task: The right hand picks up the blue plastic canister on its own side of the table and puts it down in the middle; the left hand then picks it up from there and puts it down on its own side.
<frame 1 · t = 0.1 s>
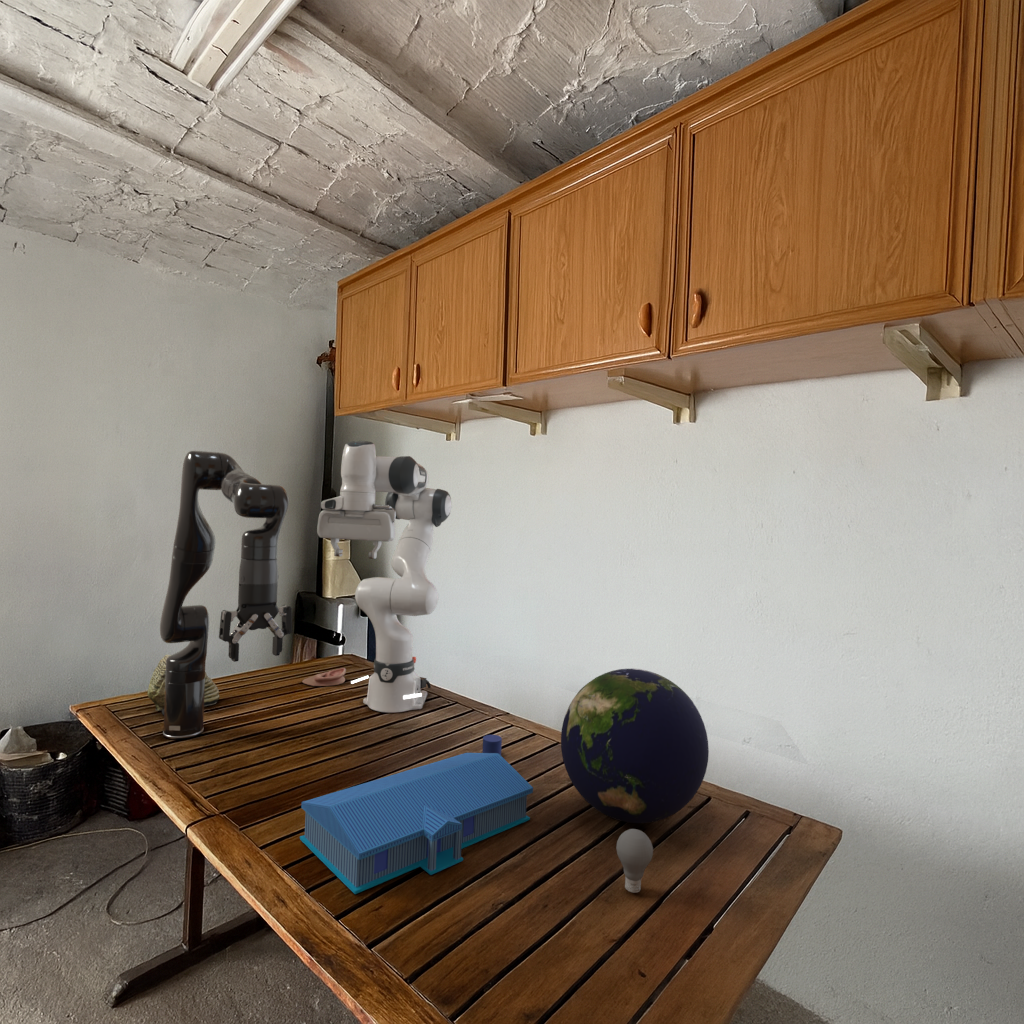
left hand: (255, 657, 132), 29 cm above the table, tool pointing down, fingers open, 8 cm apart
right hand: (355, 557, 163), 48 cm above the table, tool pointing down, fingers open, 8 cm apart
canister: (491, 756, 159), on the table
anatomical model: (323, 682, 214), on the table
light bulb: (632, 891, 106), on the table
fossil: (183, 706, 185), on the table
globe: (629, 815, 132), on the table
model building: (424, 832, 121), on the table
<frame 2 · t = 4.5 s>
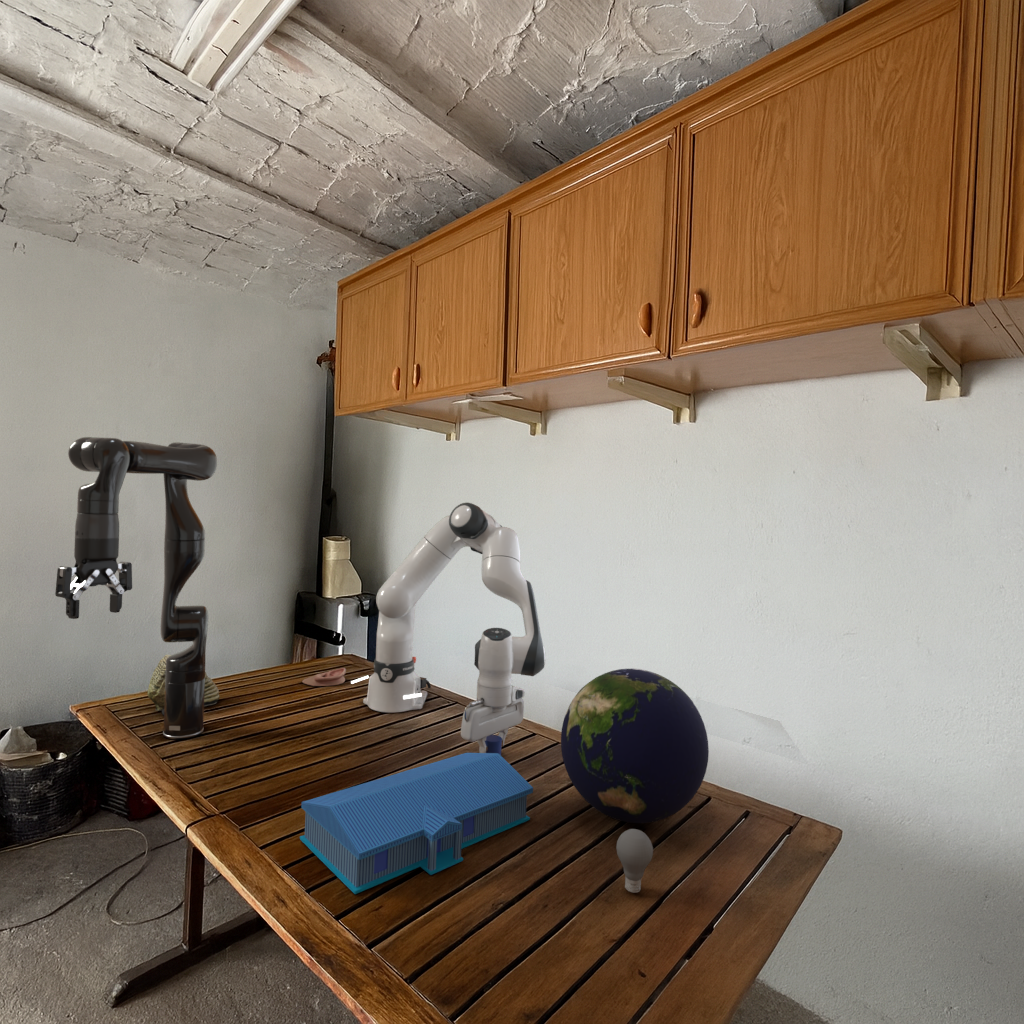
left hand: (94, 615, 129), 37 cm above the table, tool pointing down, fingers open, 8 cm apart
right hand: (491, 749, 159), 2 cm above the table, tool pointing down, fingers closed on canister, 5 cm apart
canister: (491, 756, 159), on the table, touching right hand
everything else where it was.
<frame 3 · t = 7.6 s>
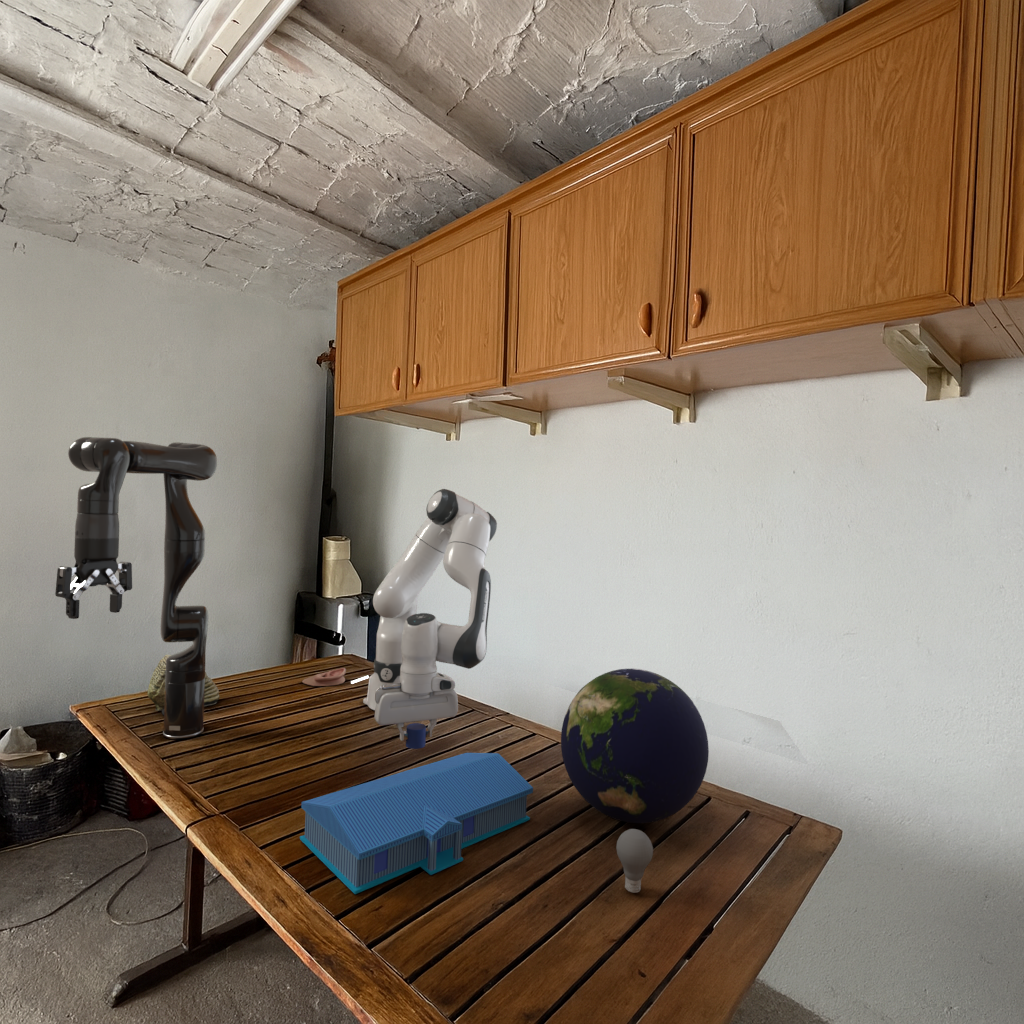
left hand: (94, 615, 129), 37 cm above the table, tool pointing down, fingers open, 8 cm apart
right hand: (415, 738, 154), 6 cm above the table, tool pointing down, fingers closed on canister, 5 cm apart
canister: (415, 745, 154), point 4 cm above the table, touching right hand
everything else where it was.
when the right hand's fingers open (2 cm above the table, at t = 10.9 s): canister stays where it is, on the table.
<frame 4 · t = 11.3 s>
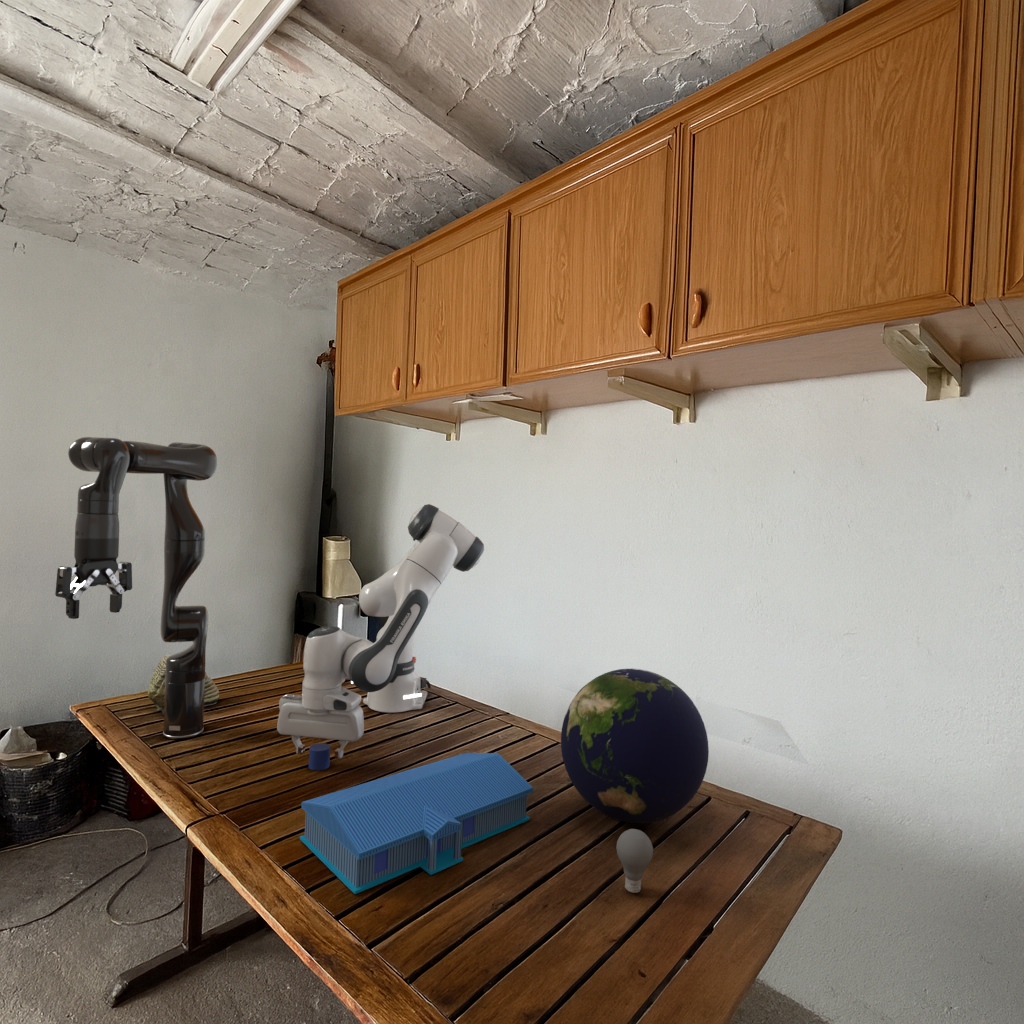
left hand: (94, 615, 129), 37 cm above the table, tool pointing down, fingers open, 8 cm apart
right hand: (319, 755, 149), 3 cm above the table, tool pointing down, fingers open, 8 cm apart
canister: (319, 766, 149), on the table
everything else where it was.
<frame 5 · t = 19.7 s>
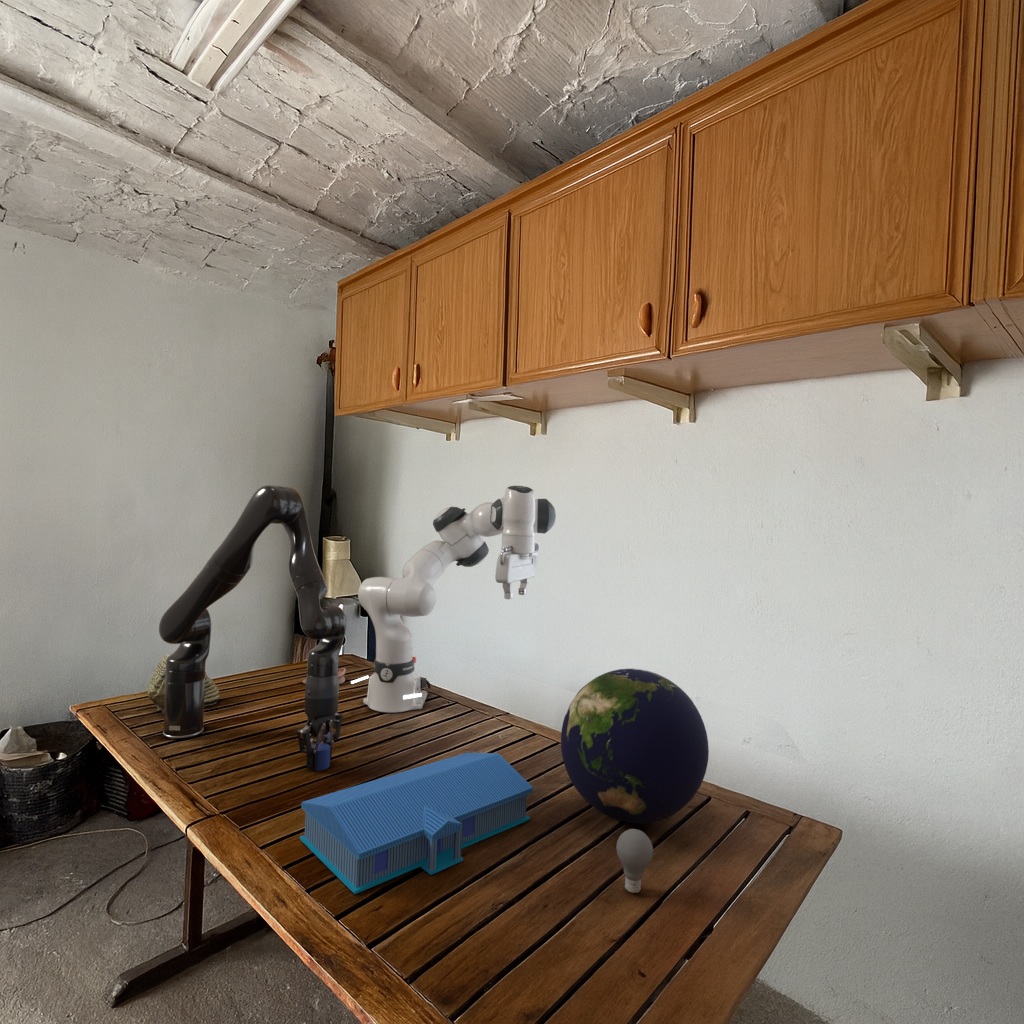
left hand: (319, 764, 149), 0 cm above the table, tool pointing down, fingers closed on canister, 4 cm apart
right hand: (515, 596, 171), 38 cm above the table, tool pointing down, fingers open, 8 cm apart
canister: (319, 766, 149), on the table, touching left hand
everything else where it was.
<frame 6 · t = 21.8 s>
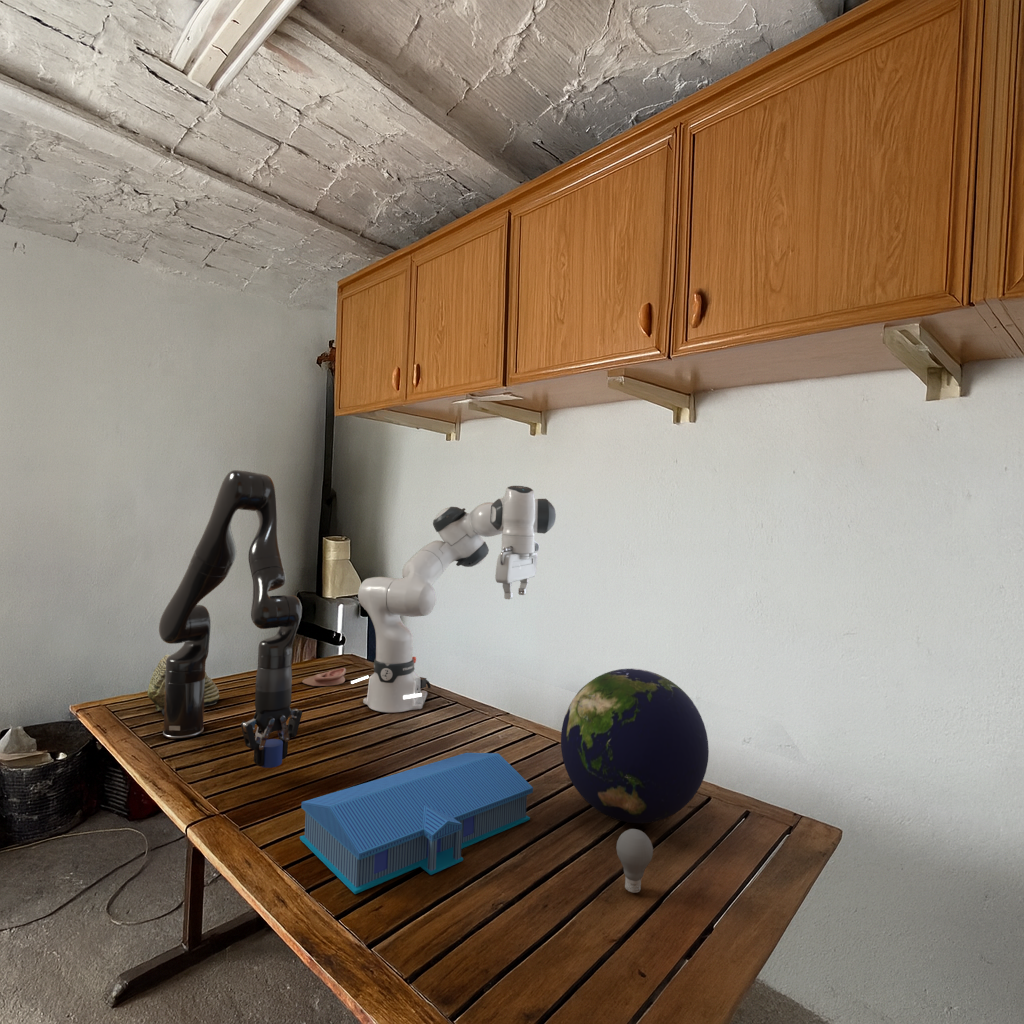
left hand: (270, 761, 141), 4 cm above the table, tool pointing down, fingers closed on canister, 4 cm apart
right hand: (515, 596, 171), 38 cm above the table, tool pointing down, fingers open, 8 cm apart
canister: (270, 763, 141), point 4 cm above the table, touching left hand
everything else where it was.
when the left hand's fingers open (1 cm above the table, at t = 24.0 s): canister stays where it is, on the table.
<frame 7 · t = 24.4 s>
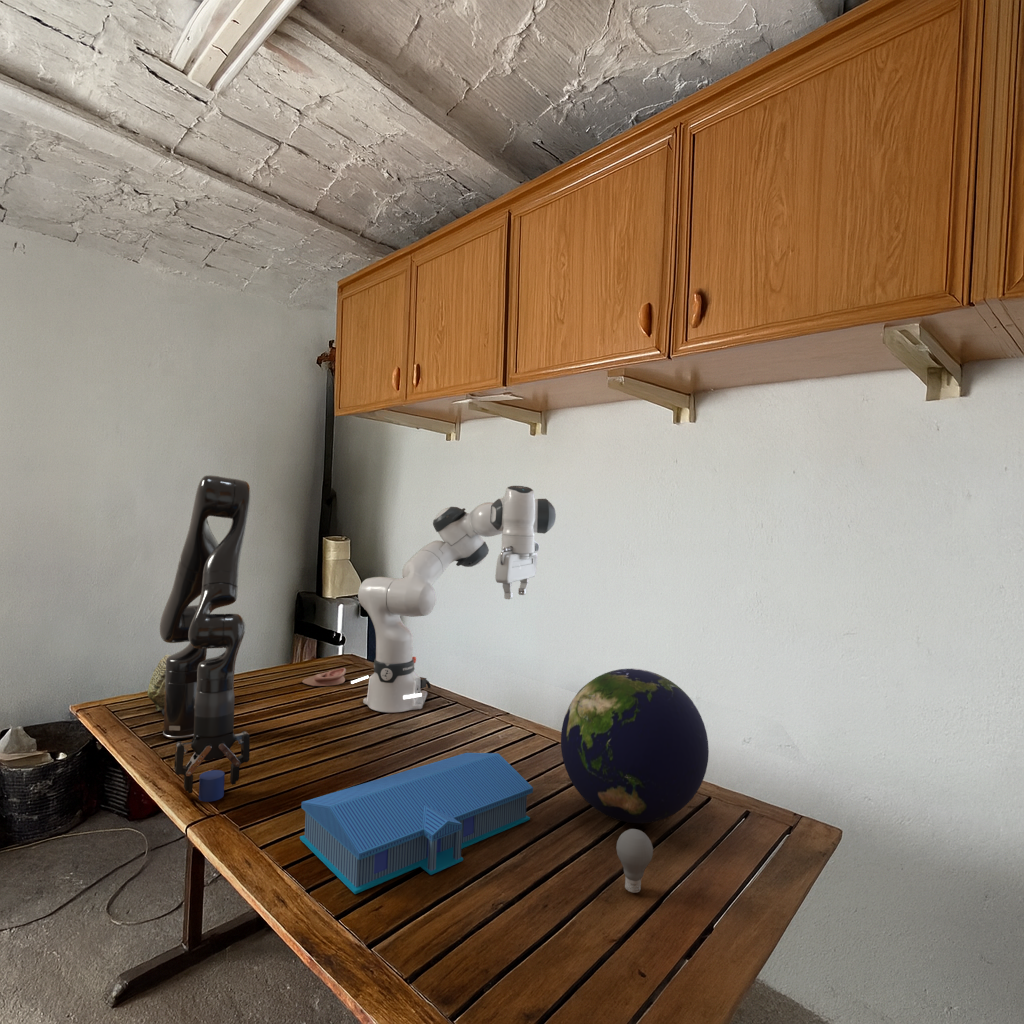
left hand: (211, 787, 132), 2 cm above the table, tool pointing down, fingers open, 8 cm apart
right hand: (515, 596, 171), 38 cm above the table, tool pointing down, fingers open, 8 cm apart
canister: (211, 796, 132), on the table
everything else where it was.
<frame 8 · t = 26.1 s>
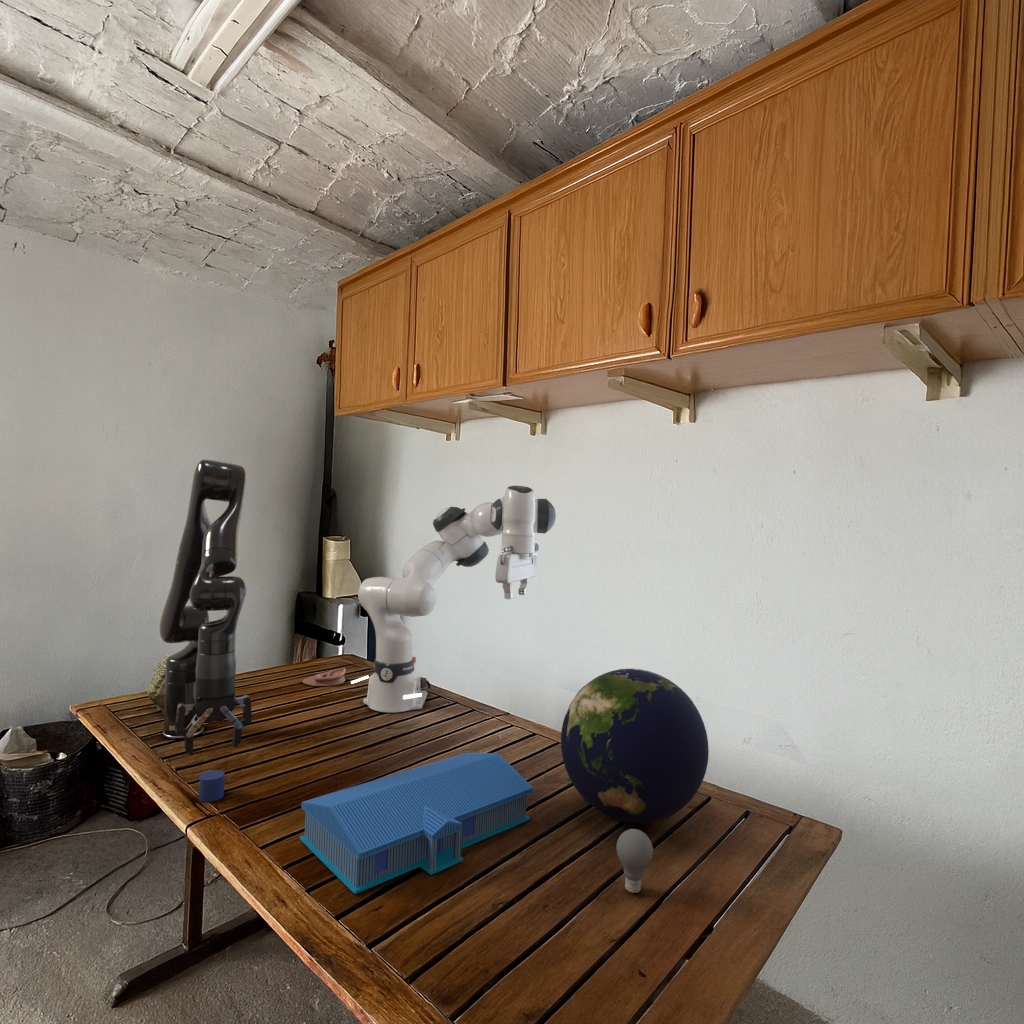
left hand: (213, 749, 132), 10 cm above the table, tool pointing down, fingers open, 8 cm apart
right hand: (515, 596, 171), 38 cm above the table, tool pointing down, fingers open, 8 cm apart
nothing on the table moved.
at the end: canister inside the target area (0.0 cm from its centre), on the table; canister tilted 0°; the two hands never held the canister at the same time; the left hand is holding nothing; the right hand is holding nothing; canister at rest at the end (0.0 cm/s) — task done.
